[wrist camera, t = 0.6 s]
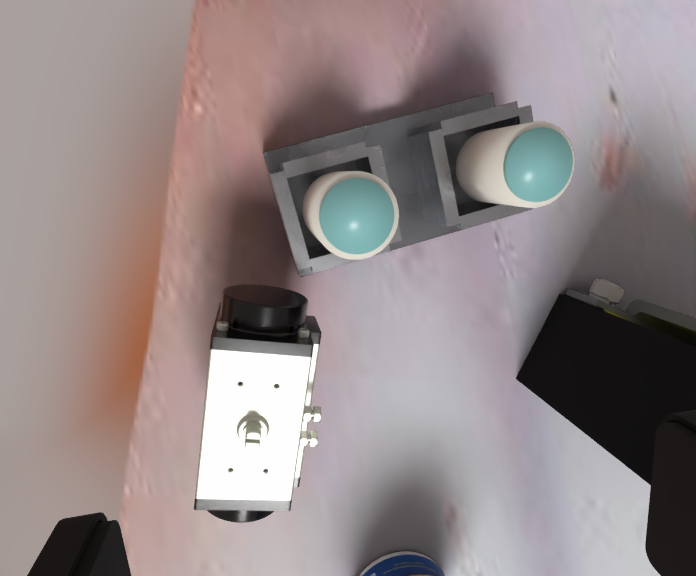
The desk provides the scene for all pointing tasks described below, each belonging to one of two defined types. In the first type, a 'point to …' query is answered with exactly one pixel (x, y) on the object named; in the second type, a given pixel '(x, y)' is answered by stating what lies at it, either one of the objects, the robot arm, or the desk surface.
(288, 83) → the desk surface
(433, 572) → the beverage bottle
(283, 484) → the pneumatic valve
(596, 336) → the electrical component
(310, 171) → the mount
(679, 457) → the robot arm
